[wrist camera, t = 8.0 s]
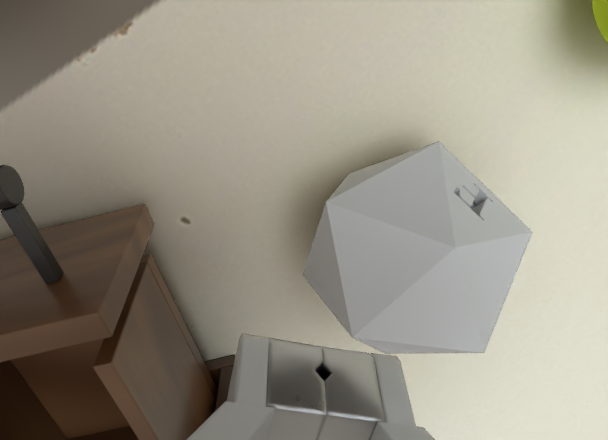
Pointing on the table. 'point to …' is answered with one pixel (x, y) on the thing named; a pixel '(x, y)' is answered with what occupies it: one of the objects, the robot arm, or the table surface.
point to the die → (416, 255)
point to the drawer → (92, 332)
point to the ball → (601, 16)
